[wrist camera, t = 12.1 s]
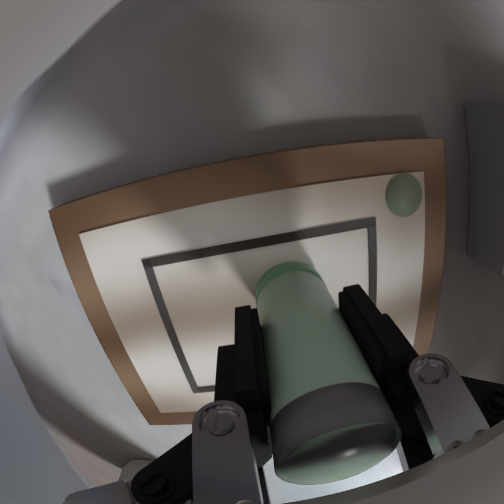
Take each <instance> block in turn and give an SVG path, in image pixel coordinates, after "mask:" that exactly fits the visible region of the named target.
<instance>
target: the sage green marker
mask: <svg viewBox="0 0 504 504" xmlns="http://www.w3.org/2000/svg"><path fill="white" fill-rule="evenodd" d="M255 300H256V308H257V310H258V315H259V320H260V325H261V333H262V341H263V349H264V357H265V365H266V374H267V382H268V390H269V398H270V406H271V412H270V434H271V443H272V452H273V460H274V469H275V473H276V475H277V476H278V477H279V478H280V479H282V480H284V481H286V482H290V483H294V484H302V485H314V484H324V483H330V482H335V481H339V480H342V479H346V478H349V477H352V476H354V475H357V474H359V473H361V472H364V471H366V470H368V469H369V468H371V467H373V466H375V465H376V464H378V463H379V462H381V461H382V460H384V459H385V458H386V457H387V456H388V455H390V454H391V453H392V452H393V451H394V449H395V448H396V447H397V446H398V444H399V442H400V440H401V437H402V432H401V429H400V427H399V425H398V423H397V421H396V419H395V416H394V414H393V412H392V410H391V408H390V406H389V404H388V402H387V400H386V398H385V396H384V394H383V393H382V391H381V390H380V388H379V386H378V384H377V382H376V380H375V378H374V376H373V374H372V372H371V370H370V368H369V366H368V364H367V362H366V360H365V358H364V356H363V354H362V352H361V350H360V348H359V346H358V344H357V343H356V341H355V339H354V337H353V335H352V333H351V331H350V329H349V327H348V326H347V324H346V322H345V320H344V318H343V316H342V315H341V313H340V311H339V309H338V307H337V305H336V304H335V302H334V300H333V298H332V296H331V294H330V293H329V291H328V289H327V287H326V285H325V283H324V281H323V279H322V277H321V276H320V274H319V273H318V272H317V271H316V270H315V269H314V268H313V267H311V266H309V265H307V264H305V263H301V262H285V263H281V264H278V265H276V266H274V267H272V268H271V269H269V270H268V271H267V272H266V273H265V274H264V275H263V276H262V277H261V278H260V280H259V282H258V284H257V287H256V291H255Z"/></svg>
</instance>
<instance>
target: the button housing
mask: <svg viewBox="0 0 504 504" xmlns="http://www.w3.org/2000/svg"><path fill="white" fill-rule="evenodd" d="M464 110H465V117H466V126H467V135H468V147H469V163H470V218H469V234H468V246H467V254H468V255H470V256H471V257H473V258H475V259H476V260H478V261H479V262H481V263H482V264H484V265H485V266H487V267H488V268H490V269H491V270H493V271H494V272H496V273H497V274H499V275H500V276H504V102H476V103H464Z"/></svg>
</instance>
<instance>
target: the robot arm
mask: <svg viewBox="0 0 504 504" xmlns="http://www.w3.org/2000/svg"><path fill="white" fill-rule="evenodd" d="M338 300H339V311H340V313H341V315H342V316H343V318H344V320H345V322H346V324H347V326H348V327H349V329H350V331H351V333H352V335H353V337H354V339H355V341H356V343H357V344H358V346H359V348H360V350H361V352H362V354H363V356H364V358H365V360H366V362H367V364H368V366H369V368H370V370H371V372H372V374H373V376H374V378H375V380H376V382H377V384H378V386H379V388H380V390H381V391H382V393H383V394H384V396H385V398H386V400H387V402H388V404H389V406H390V408H391V410H392V412H393V414H394V416H395V419H396V421H397V423H398V425H399V427H400V429H401V432H402V437H401V440H400V442H399V444H398V446H397V447H396V449H397V452H398V455H399V459H400V462H401V465H402V469H403V472H402V473H400V474H397V475H394V476H392V477H389V478H386V479H383V480H380V481H377V482H374V483H371V484H368V485H365V486H361V487H358V488H354V489H351V490H347V491H343V492H339V493H335V494H331V495H327V496H322V497H318V498H313V499H308V500H302V501H296V502H290V503H284V504H504V385H502V384H498V383H493V382H488V381H483V380H478V379H473V378H469V377H464V376H460V375H459V373H458V372H457V370H456V369H455V367H454V366H453V364H452V363H451V362H450V361H449V359H447V358H446V357H444V356H442V355H438V354H431V353H429V354H423V355H421V356H419V355H418V353H417V352H416V351H415V349H414V348H413V347H412V345H411V344H410V343H409V341H408V340H407V338H406V337H405V336H404V334H403V333H402V332H401V330H400V329H399V328H398V326H397V325H396V324H395V322H394V321H393V320H392V319H391V317H390V316H389V315H388V314H386V313H384V314H381V312H380V311H379V310H378V308H377V307H376V306H375V304H374V303H373V302H372V300H371V299H370V298H369V296H368V295H367V294H366V292H365V291H364V290H363V289H362V287H361V286H360V285H359V284H355V285H351V286H346V287H344V288H343V291H341V292H339V294H338ZM270 412H271V406H270V398H269V390H268V382H267V374H266V365H265V357H264V349H263V341H262V333H261V325H260V320H259V315H258V310H257V308H253V309H251V305H246V306H240V307H235V336H234V344H231V345H224V346H219V347H218V352H217V365H216V379H215V393H214V402H211V403H208V404H206V405H204V406H203V407H201V408H200V409H199V410H198V411H197V412H196V414H195V416H194V417H193V422H192V433H191V434H190V435H189V436H187V437H186V438H185V439H183V440H182V441H181V442H179V443H178V444H177V445H175V446H174V447H173V448H171V449H170V450H168V451H167V452H166V453H164V454H163V455H161V456H160V457H159V458H157V459H156V460H154V461H153V462H151V463H150V464H148V465H147V466H145V467H144V468H143V469H141V470H140V471H139V472H138V473H136V474H135V476H134V478H133V479H132V480H131V481H128V482H126V481H125V480H124V479H123V480H120V481H117V482H113V483H109V484H106V485H102V486H98V487H94V488H90V489H86V490H81V491H77V492H74V493H72V494H70V495H68V497H66V499H65V501H64V503H63V504H272V503H271V499H270V494H269V489H268V485H267V480H266V475H265V470H264V466H263V465H264V464H265V463H266V462H268V461H269V460H270V459H271V458H272V454H273V452H272V443H271V434H270Z"/></svg>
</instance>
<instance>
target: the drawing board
mask: <svg viewBox="0 0 504 504" xmlns="http://www.w3.org/2000/svg"><path fill="white" fill-rule="evenodd" d="M49 215H50V218H51V222H52V225H53V228H54V232H55V235H56V238H57V241H58V244H59V247H60V250H61V253H62V256H63V258H64V261H65V264H66V267H67V269H68V272H69V274H70V277H71V280H72V282H73V285H74V287H75V289H76V292H77V294H78V297H79V299H80V301H81V304H82V306H83V308H84V310H85V313H86V315H87V317H88V319H89V321H90V323H91V325H92V327H93V330H94V332H95V334H96V336H97V338H98V340H99V342H100V344H101V345H102V347H103V349H104V351H105V353H106V355H107V357H108V359H109V360H110V362H111V364H112V366H113V368H114V369H115V371H116V373H117V375H118V376H119V378H120V380H121V381H122V383H123V385H124V386H125V388H126V390H127V391H128V393H129V395H130V396H131V398H132V399H133V401H134V402H135V404H136V406H137V407H138V409H139V410H140V412H141V413H142V415H143V416H144V418H145V419H146V420H147V422H148V423H149V425H179V424H192V422H193V417H194V416H195V414H196V412H197V411H198V410H199V409H200V408H201V407H203V406H204V405H206V404H208V403H211V402H214V393H215V379H216V365H217V352H218V347H219V346H224V345H231V344H234V336H235V307H240V306H246V305H251V309H253V308H256V300H255V291H256V287H257V284H258V282H259V280H260V278H261V277H262V276H263V275H264V274H265V273H266V272H267V271H268V270H269V269H271V268H272V267H274V266H276V265H278V264H281V263H285V262H301V263H305V264H307V265H309V266H311V267H313V268H314V269H315V270H316V271H317V272H318V273H319V274H320V276H321V277H322V279H323V281H324V283H325V285H326V287H327V289H328V291H329V293H330V294H331V296H332V298H333V300H334V302H335V304H336V305H337V307H338V309H339V300H338V294H339V292H341V291H343V288H344V287H346V286H351V285H355V284H359V285H360V286H361V287H362V289H363V290H364V291H365V292H366V294H367V295H368V296H369V298H370V299H371V300H372V302H373V303H374V304H375V306H376V307H377V308H378V310H379V311H380V312H381V314H384V313H386V314H388V315H389V316H390V317H391V319H392V320H393V321H394V322H395V324H396V325H397V326H398V328H399V329H400V330H401V332H402V333H403V334H404V336H405V337H406V338H407V340H408V341H409V343H410V344H411V345H412V347H413V348H414V349H415V351H416V352H417V353H418V355H419V356H421V355H423V354H429V350H430V346H431V341H432V336H433V331H434V326H435V321H436V315H437V309H438V303H439V296H440V289H441V281H442V273H443V263H444V251H445V235H446V169H445V153H444V142H443V139H441V138H406V139H386V140H372V141H359V142H348V143H338V144H329V145H320V146H312V147H304V148H297V149H290V150H283V151H276V152H270V153H264V154H258V155H252V156H247V157H241V158H236V159H231V160H225V161H220V162H216V163H211V164H206V165H201V166H197V167H192V168H188V169H184V170H179V171H175V172H171V173H167V174H163V175H159V176H155V177H151V178H147V179H144V180H140V181H136V182H133V183H129V184H126V185H122V186H119V187H115V188H112V189H109V190H105V191H102V192H99V193H96V194H92V195H89V196H86V197H83V198H80V199H77V200H74V201H71V202H68V203H65V204H63V205H60V206H58V207H56V208H53V209H51V210H49Z"/></svg>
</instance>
